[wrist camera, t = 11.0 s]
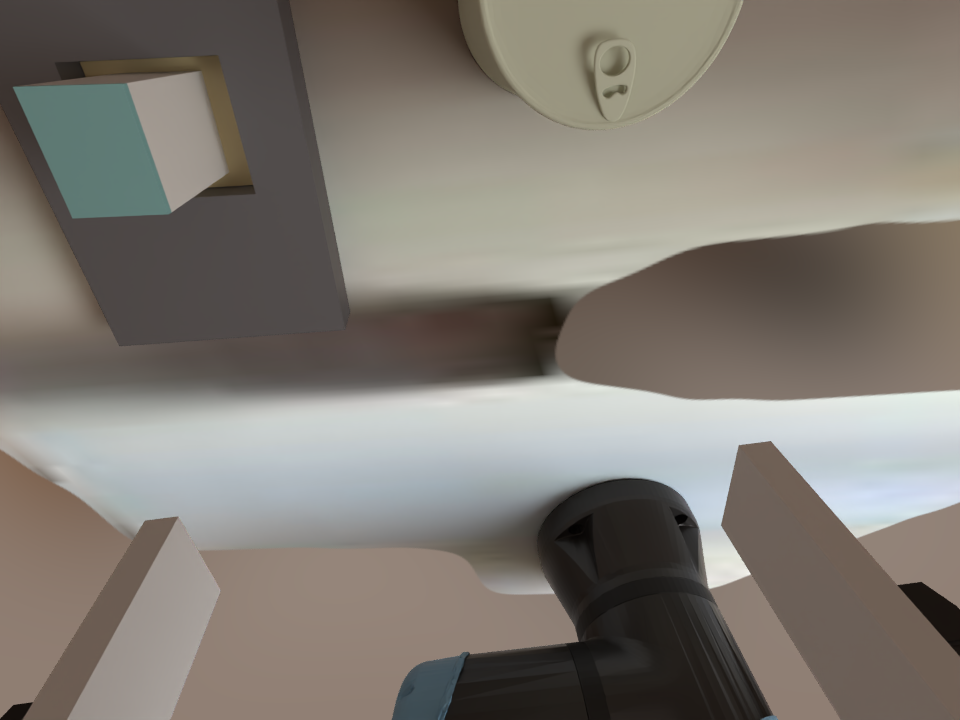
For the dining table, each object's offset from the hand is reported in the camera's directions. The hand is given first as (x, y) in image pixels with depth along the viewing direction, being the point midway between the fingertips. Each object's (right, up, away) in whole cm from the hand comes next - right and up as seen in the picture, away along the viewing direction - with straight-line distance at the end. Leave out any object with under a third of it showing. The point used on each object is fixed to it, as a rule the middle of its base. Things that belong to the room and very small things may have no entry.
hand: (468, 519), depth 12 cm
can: (+4, +23, +14) cm, 27 cm away
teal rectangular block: (-16, +17, +15) cm, 27 cm away
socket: (-16, +15, +17) cm, 27 cm away
